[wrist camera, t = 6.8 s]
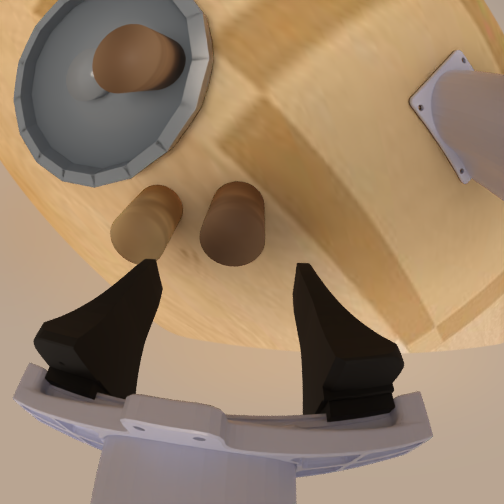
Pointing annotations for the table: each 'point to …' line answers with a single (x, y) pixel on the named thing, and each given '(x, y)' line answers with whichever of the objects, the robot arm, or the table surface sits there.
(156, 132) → the tray
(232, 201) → the bead
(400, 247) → the table surface
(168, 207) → the bead
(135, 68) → the bead
